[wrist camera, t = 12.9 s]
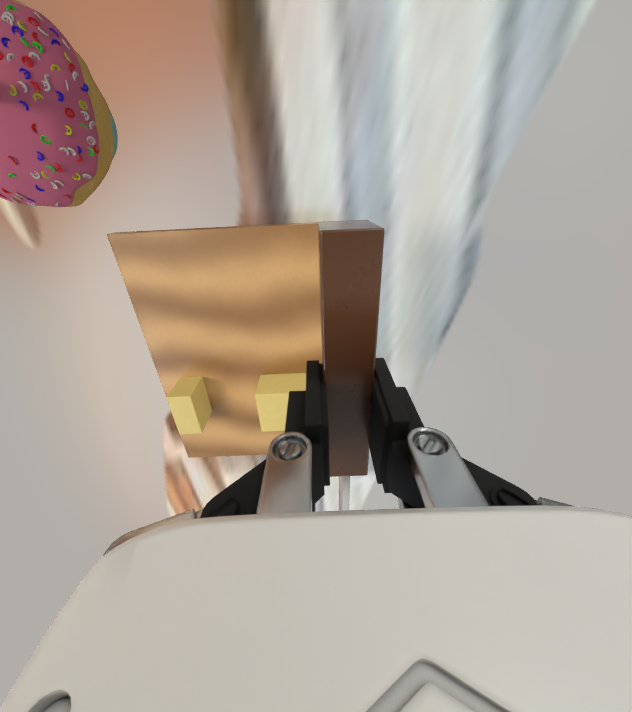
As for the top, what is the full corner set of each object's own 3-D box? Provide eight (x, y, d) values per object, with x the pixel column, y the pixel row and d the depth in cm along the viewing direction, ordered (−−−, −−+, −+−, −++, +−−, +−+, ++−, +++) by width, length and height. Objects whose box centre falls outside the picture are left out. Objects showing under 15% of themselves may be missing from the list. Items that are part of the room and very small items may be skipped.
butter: (260, 374, 26) (254, 394, 24) (327, 371, 26) (329, 391, 23) (266, 409, 28) (261, 432, 25) (329, 406, 28) (330, 429, 25)
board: (114, 232, 21) (106, 234, 20) (336, 221, 21) (337, 222, 20) (191, 450, 32) (188, 457, 31) (339, 444, 32) (339, 451, 31)
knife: (317, 221, 10) (318, 230, 8) (369, 219, 10) (385, 227, 8) (327, 543, 20) (329, 588, 18) (354, 542, 20) (359, 587, 18)
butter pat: (180, 376, 26) (165, 397, 24) (202, 375, 26) (190, 396, 24) (191, 411, 28) (179, 434, 25) (212, 410, 28) (202, 433, 25)
